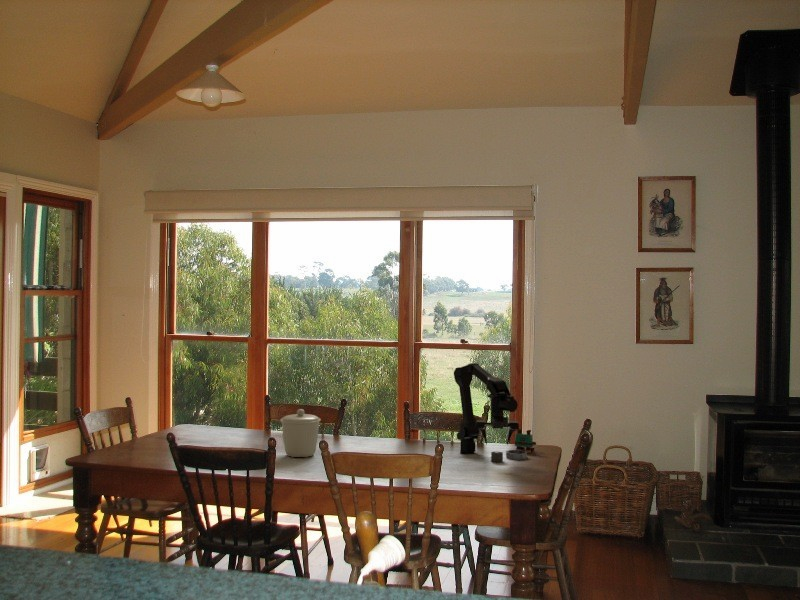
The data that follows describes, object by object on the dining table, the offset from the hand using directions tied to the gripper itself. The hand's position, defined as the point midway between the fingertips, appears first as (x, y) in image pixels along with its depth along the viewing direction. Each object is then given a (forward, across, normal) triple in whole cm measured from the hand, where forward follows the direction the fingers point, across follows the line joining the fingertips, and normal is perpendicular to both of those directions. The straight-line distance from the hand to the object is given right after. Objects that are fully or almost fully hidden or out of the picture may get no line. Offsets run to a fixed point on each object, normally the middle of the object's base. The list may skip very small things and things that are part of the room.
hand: (496, 444), depth 329 cm
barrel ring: (+8, +9, +9) cm, 15 cm away
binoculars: (+8, +14, +24) cm, 29 cm away
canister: (+8, -88, +2) cm, 88 cm away
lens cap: (+8, 0, 0) cm, 8 cm away
